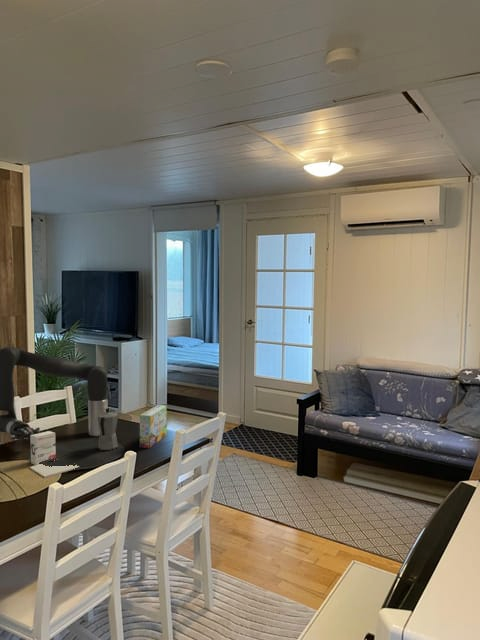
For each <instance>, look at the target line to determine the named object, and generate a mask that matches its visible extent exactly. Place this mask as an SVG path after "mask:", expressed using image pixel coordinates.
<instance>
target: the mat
mask: <svg viewBox="0 0 480 640" xmlns="http://www.w3.org/2000/svg"><path fill="white" fill-rule="evenodd" d="M77 465H78V464H76V465H75V466H73V465H69V466H67V465H66V466H52V467H51V466H50V467H49V466H45V465H43V464H39V465H32V466H29V469H30V470H32V471H33V472H35V473H37V474H39V475H40V476H42V477H43V478H48V477H52V476H56V475H59V474H62V473H67V472H69V471H74V470H76V469H75V468H78V467H80V466H79V465H78V466H77ZM73 469H74V470H73ZM78 469H79V468H78Z"/></svg>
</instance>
